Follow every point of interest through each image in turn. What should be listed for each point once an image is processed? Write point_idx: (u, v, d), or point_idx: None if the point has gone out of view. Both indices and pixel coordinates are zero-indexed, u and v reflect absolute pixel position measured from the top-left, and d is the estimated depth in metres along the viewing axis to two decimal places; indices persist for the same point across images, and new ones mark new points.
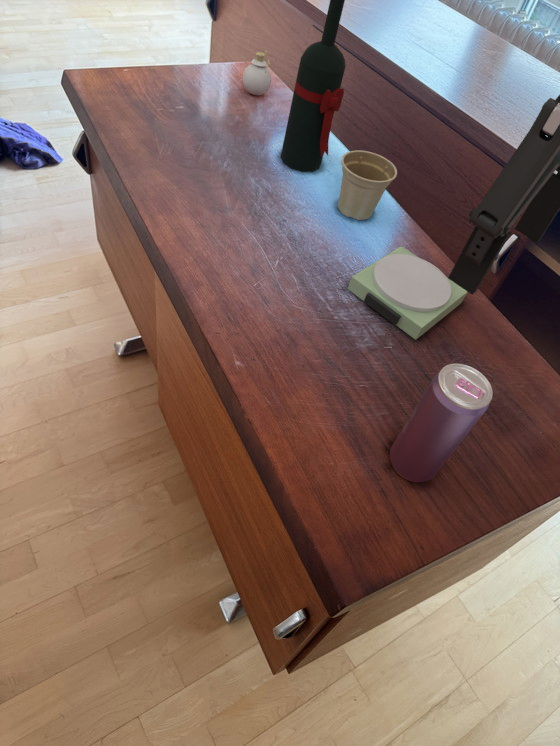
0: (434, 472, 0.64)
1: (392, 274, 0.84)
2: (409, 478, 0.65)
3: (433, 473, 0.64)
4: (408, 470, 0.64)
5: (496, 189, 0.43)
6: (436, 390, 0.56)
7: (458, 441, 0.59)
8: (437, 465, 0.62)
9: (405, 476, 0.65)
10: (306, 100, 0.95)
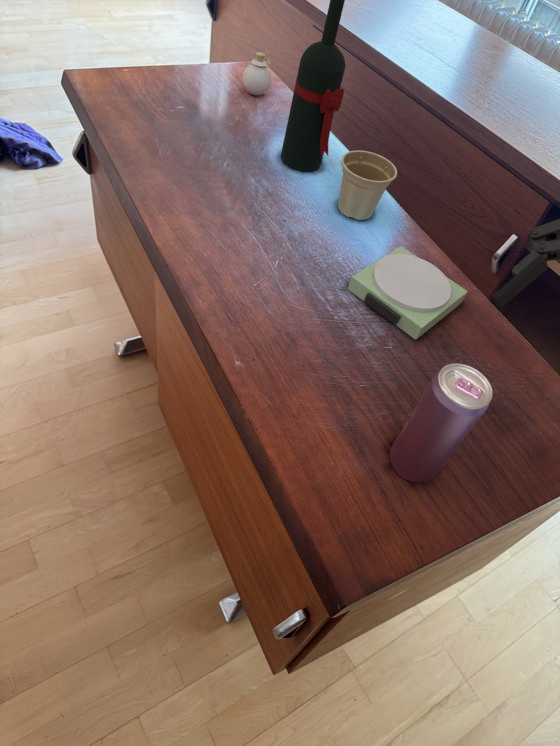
0: (434, 472, 0.64)
1: (392, 274, 0.84)
2: (409, 478, 0.65)
3: (433, 473, 0.64)
4: (408, 470, 0.64)
5: None
6: (436, 390, 0.56)
7: (458, 441, 0.59)
8: (437, 465, 0.62)
9: (405, 476, 0.65)
10: (306, 100, 0.95)
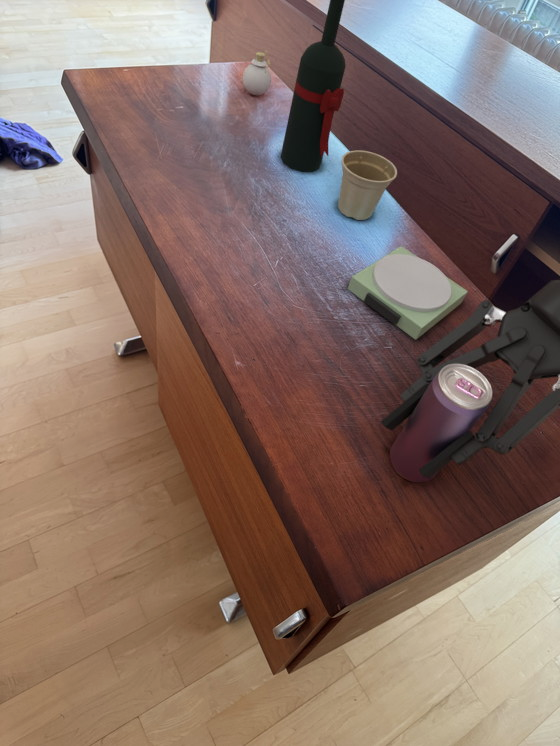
0: None
1: (392, 274, 0.84)
2: (409, 478, 0.65)
3: None
4: (408, 470, 0.64)
5: None
6: (436, 390, 0.56)
7: None
8: None
9: (405, 476, 0.65)
10: (306, 100, 0.95)
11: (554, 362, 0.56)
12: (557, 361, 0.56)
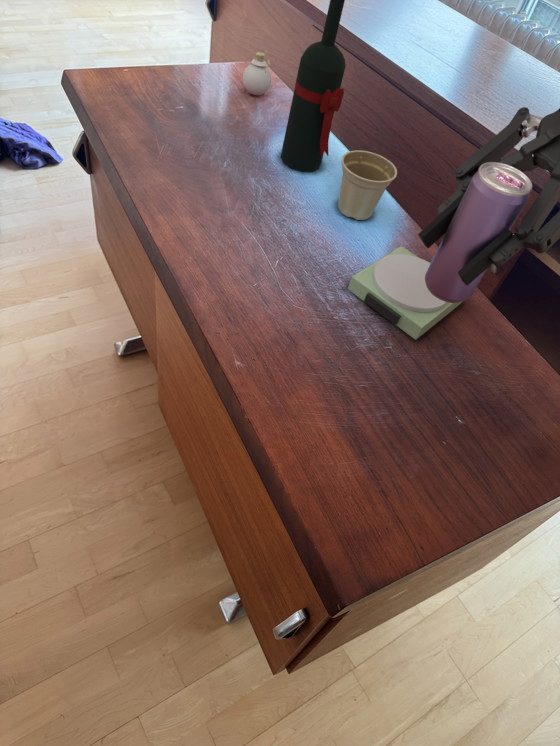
0: (470, 288, 0.65)
1: (392, 274, 0.84)
2: (445, 296, 0.66)
3: (469, 289, 0.65)
4: (445, 286, 0.65)
5: None
6: (477, 182, 0.57)
7: None
8: None
9: (441, 295, 0.66)
10: (306, 100, 0.95)
11: None
12: None
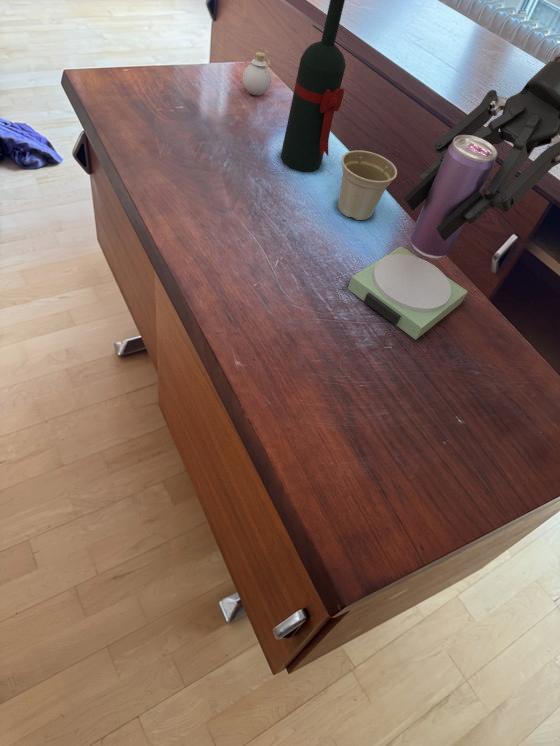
0: (448, 244, 0.76)
1: (392, 274, 0.84)
2: (427, 252, 0.77)
3: (447, 245, 0.76)
4: (427, 242, 0.76)
5: None
6: (451, 150, 0.68)
7: None
8: None
9: (424, 250, 0.77)
10: (306, 100, 0.95)
11: (548, 127, 0.68)
12: (550, 126, 0.68)
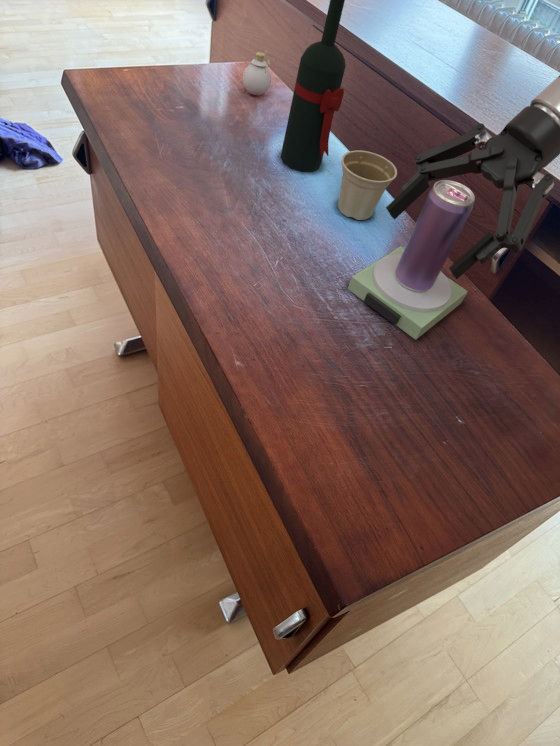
0: (431, 279, 0.81)
1: (392, 274, 0.84)
2: (411, 286, 0.82)
3: (430, 280, 0.81)
4: (410, 277, 0.81)
5: None
6: (432, 195, 0.73)
7: (449, 243, 0.76)
8: (433, 270, 0.80)
9: (408, 285, 0.82)
10: (306, 100, 0.95)
11: (525, 168, 0.72)
12: (527, 167, 0.72)
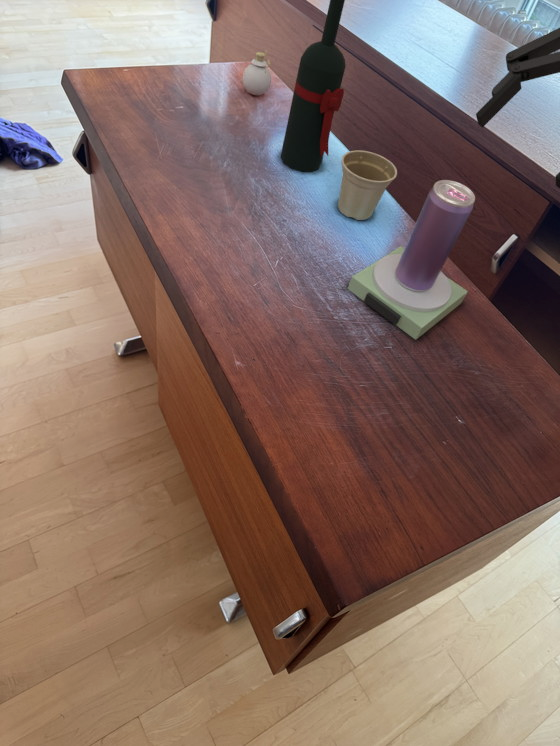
0: (431, 279, 0.81)
1: (392, 274, 0.84)
2: (411, 286, 0.82)
3: (430, 280, 0.81)
4: (410, 277, 0.81)
5: None
6: (432, 195, 0.73)
7: (449, 243, 0.76)
8: (433, 270, 0.80)
9: (408, 285, 0.82)
10: (306, 100, 0.95)
11: None
12: None
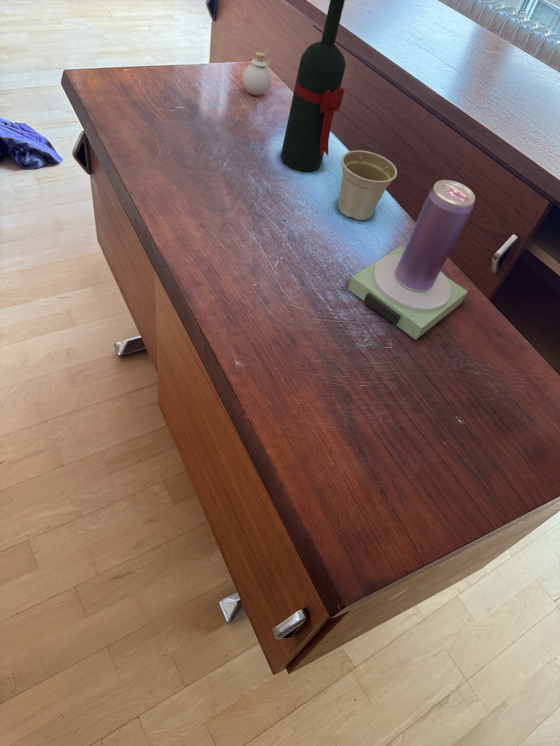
0: (431, 279, 0.81)
1: (392, 274, 0.84)
2: (411, 286, 0.82)
3: (430, 280, 0.81)
4: (410, 277, 0.81)
5: None
6: (432, 195, 0.73)
7: (449, 243, 0.76)
8: (433, 270, 0.80)
9: (408, 285, 0.82)
10: (306, 100, 0.95)
11: None
12: None
